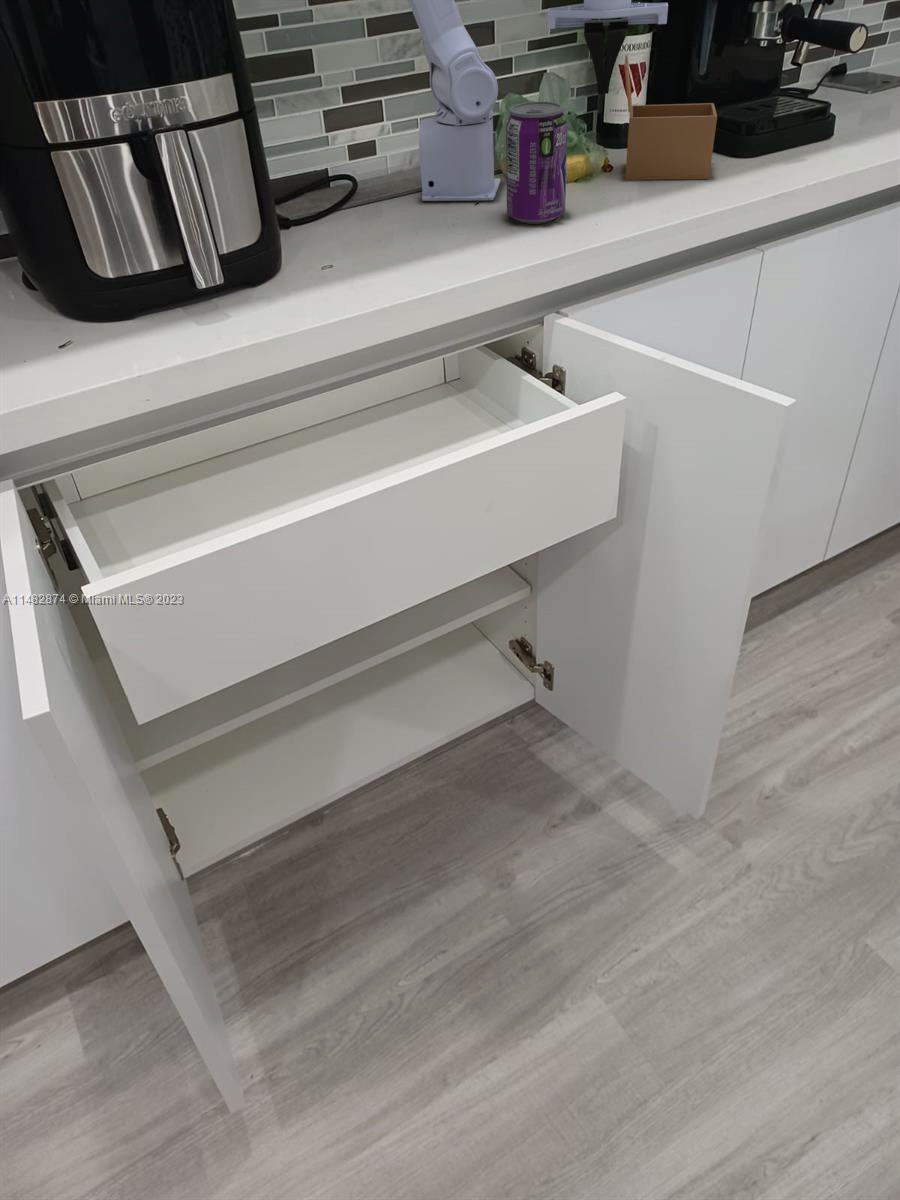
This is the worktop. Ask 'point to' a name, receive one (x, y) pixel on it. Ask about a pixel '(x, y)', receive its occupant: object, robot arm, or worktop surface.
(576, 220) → the worktop surface
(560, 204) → the beverage can
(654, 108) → the carton
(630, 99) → the flap
